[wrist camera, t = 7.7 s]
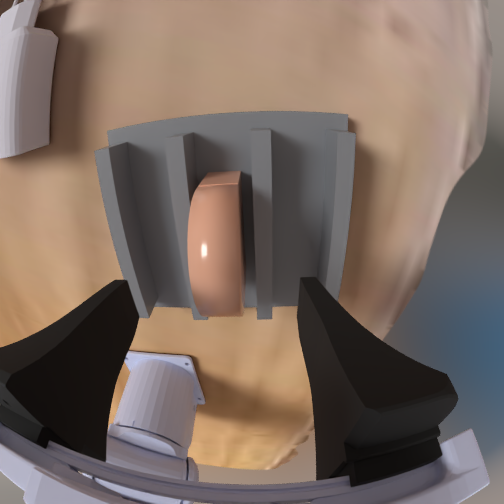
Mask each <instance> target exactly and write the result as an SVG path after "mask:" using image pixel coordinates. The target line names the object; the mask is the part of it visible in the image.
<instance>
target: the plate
mask: <svg viewBox="0 0 504 504" xmlns="http://www.w3.org/2000/svg"><path fill="white" fill-rule="evenodd" d="M187 250H188V268H189V277H190V284H191V290H192V294H193V298H194V302H195V305H196V308H197V310H198V312H199V313H200V315H201V316H203V317H242V316H243V314H244V305H245V287H246V254H245V236H244V218H243V199H242V180H241V171H224V172H208V173H207V175H206V176H205V177H204V179H203V180H202V181H201V183H200V184H199V186H198V187H197V188H196V190H195V192H194V195H193V198H192V201H191V206H190V212H189V221H188V237H187Z"/></svg>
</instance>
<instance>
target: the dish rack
mask: <svg viewBox="0 0 504 504" xmlns="http://www.w3.org/2000/svg"><path fill="white" fill-rule="evenodd" d="M107 133H108V142H109V146H108V147H105V148H102V149H99V150H96V151H95V158H96V165H97V171H98V176H99V182H100V187H101V192H102V197H103V202H104V207H105V211H106V216H107V220H108V224H109V228H110V232H111V236H112V240H113V244H114V247H115V251H116V254H117V258H118V261H119V265H120V268H121V271H122V274H123V278H124V280H127V281H128V284H129V287H130V290H131V293H132V296H133V299H134V302H135V305H136V308H137V311H138V313H139V318H150V315H151V313H152V311H153V308H154V307H189V308H191V309H192V314H193V318H194V320H208V317H203V316H201V315H200V313H199V312H198V310H197V308H196V305H195V302H194V298H193V294H192V290H191V284H190V277H189V268H188V250H187V237H188V221H189V212H190V206H191V201H192V198H193V195H194V192H195V190H196V188H197V187H198V186H199V184H200V183H201V181H202V180H203V179H204V177H205V176H206V175H207V173H208V172H224V171H241V180H242V199H243V218H244V236H245V254H246V287H245V305H244V307H257V320H260V319H272V307H279V306H298V298H299V285H300V277H316V278H317V279H318V280H319V281H320V282H321V284H322V285H323V286H324V287H325V288H326V290H327V291H328V292H329V293H330V294H331V295H332V296H333V297H334V299H335V300H336V301H337V302H338V297H339V292H340V286H341V280H342V274H343V267H344V261H345V254H346V246H347V239H348V231H349V222H350V213H351V202H352V191H353V178H354V162H355V140H356V133H352V132H349V131H348V114H337V113H322V112H298V111H259V112H235V113H220V114H208V115H198V116H189V117H181V118H174V119H167V120H160V121H154V122H148V123H143V124H138V125H132V126H127V127H123V128H118V129H114V130H109V131H107Z"/></svg>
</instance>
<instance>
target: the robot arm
mask: <svg viewBox="0 0 504 504" xmlns="http://www.w3.org/2000/svg"><path fill="white" fill-rule="evenodd" d="M138 320H139V313H138V311H137V308H136V305H135V302H134V299H133V296H132V293H131V290H130V287H129V284H128V281H127V280H114V281H113V282H111V283H109V284H108V285H106V286H105V287H103V288H102V289H101V290H99V291H98V292H97V293H95V294H94V295H93V296H91V297H90V298H89V299H87V300H86V301H85V302H83V303H82V304H81V305H79V306H78V307H76V308H75V309H74V310H72V311H71V312H69V313H68V314H67V315H65V316H64V317H62V318H61V319H59V320H58V321H56V322H55V323H53V324H51V325H50V326H48V327H46V328H44V329H43V330H41V331H39V332H37V333H35V334H33V335H31V336H29V337H27V338H25V339H22V340H20V341H18V342H15V343H13V344H10V345H7V346H4V347H1V348H0V471H1V472H2V473H3V474H4V475H5V476H7V477H8V478H9V479H10V480H11V481H12V482H14V483H15V484H16V485H17V486H19V487H20V488H21V489H23V490H24V491H25V493H24V497H23V499H24V501H25V503H26V504H193V503H194V502H201V503H212V504H297V503H298V504H458V503H460V502H462V501H463V500H465V499H467V498H468V497H470V496H472V495H473V494H475V493H476V492H478V491H479V490H481V489H483V488H484V487H486V486H487V485H489V483H490V480H489V476H488V473H487V470H486V467H485V464H484V461H483V457H482V455H481V452H480V449H479V446H478V443H477V441H476V438H475V436H474V433H473V430H472V429H468V430H466V431H464V432H462V433H459V434H458V435H455V436H453V437H451V438H449V439H447V440H445V441H443V442H441V443H440V444H439V442H438V439H437V437H438V436H439V435H440V430H439V427H438V425H439V424H440V423H441V422H442V421H443V420H444V419H445V418H446V417H447V416H448V414H449V413H450V412H451V411H452V410H453V409H454V407H455V406H456V403H457V401H458V395H457V393H456V392H455V389H454V387H453V385H452V383H451V381H450V379H449V377H448V376H447V374H445V373H442V372H440V371H438V370H435V369H433V368H430V367H428V366H425V365H423V364H421V363H419V362H417V361H415V360H413V359H411V358H409V357H407V356H405V355H404V354H402V353H400V352H398V351H397V350H395V349H394V348H392V347H391V346H389V345H387V344H386V343H384V342H383V341H381V340H380V339H379V338H377V337H376V336H375V335H373V334H372V333H371V332H369V331H368V330H367V329H366V328H364V327H363V326H362V325H361V324H360V323H358V322H357V321H356V320H355V319H354V318H353V317H352V316H351V315H350V314H349V313H348V312H347V311H346V310H345V309H344V308H343V307H342V306H341V305H340V304H339V303H338V302H337V301H336V300H335V299H334V297H333V296H332V295H331V294H330V293H329V292H328V291H327V290H326V288H325V287H324V286H323V285H322V284H321V282H320V281H319V280H318V279H317V278H316V277H300V285H299V298H298V311H297V321H298V330H299V338H300V343H301V347H302V351H303V356H304V360H305V364H306V369H307V373H308V377H309V382H310V387H311V394H312V403H313V414H314V427H315V443H316V481H309V482H300V483H287V484H268V485H239V484H218V483H205V482H198V481H199V471H198V466H197V465H196V463H195V462H194V460H193V458H191V457H187V454H188V448H189V446H190V444H191V441H192V435H193V428H194V421H195V415H196V408H197V404H205V398H204V395H203V392H202V389H201V386H200V383H199V380H198V377H197V374H196V371H195V368H194V364H193V361H192V358H191V357H189V356H185V355H169V354H156V353H145V352H135V351H129V348H130V346H131V343H132V341H133V338H134V335H135V332H136V328H137V324H138ZM124 361H125V363H126V365H127V367H128V369H129V370H130V372H131V373H130V376H129V378H128V381H127V384H126V387H125V389H124V392H123V395H122V398H121V401H120V404H119V407H118V410H117V413H116V416H115V419H114V422H113V424H110V426H109V429H108V421H109V414H110V408H111V403H112V398H113V394H114V389H115V385H116V382H117V379H118V376H119V373H120V370H121V368H122V365H123V363H124ZM107 430H108V431H107ZM78 471H80V472H82V473H83V475H82V474H80V473H79V472H78ZM306 502H310V503H306Z"/></svg>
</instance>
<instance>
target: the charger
mask: <svg viewBox="0 0 504 504" xmlns="http://www.w3.org/2000/svg"><path fill="white" fill-rule="evenodd" d="M41 1H42V0H24V2H21V3H19V4H17V3H18V0H14V3H13V6H12V8H10V9H9V10H7V11H6V12H4V13H3V14H2V15H1V17H0V158H6V157H11V156H15V155H19V154H22V153H25V152H28V151H31V150H34V149H37V148H40V147H43V146H46V145H49V144H50V142H49V125H50V100H51V87H52V77H53V69H54V62H55V55H56V50H57V44H58V39H59V38H58V37H57V36H56V35H55V34H54V33H53V32H52V31H51V30H46V29H41V28H35V27H34V26H35V22H36V19H37V15H38V11H39V8H40V5H41Z"/></svg>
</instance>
